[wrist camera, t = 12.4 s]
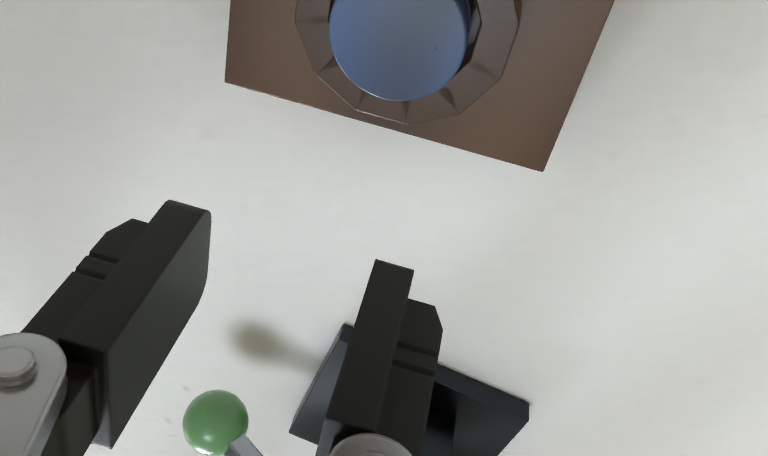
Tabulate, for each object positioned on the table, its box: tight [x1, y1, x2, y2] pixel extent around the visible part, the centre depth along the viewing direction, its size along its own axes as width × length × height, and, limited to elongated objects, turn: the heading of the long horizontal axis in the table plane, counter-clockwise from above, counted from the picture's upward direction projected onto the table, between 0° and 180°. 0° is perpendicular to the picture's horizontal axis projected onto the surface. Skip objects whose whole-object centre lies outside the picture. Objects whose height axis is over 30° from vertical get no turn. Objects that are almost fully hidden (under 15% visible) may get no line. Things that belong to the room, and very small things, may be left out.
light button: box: [329, 0, 471, 101], centre depth 23 cm, size 4×4×2 cm
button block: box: [225, 0, 614, 172], centre depth 25 cm, size 13×10×4 cm
